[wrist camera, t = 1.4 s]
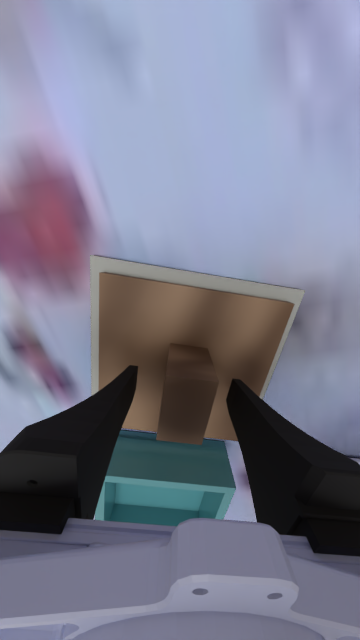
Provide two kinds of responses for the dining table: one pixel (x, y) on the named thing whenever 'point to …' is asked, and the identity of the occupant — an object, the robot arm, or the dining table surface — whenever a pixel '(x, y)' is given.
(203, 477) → the dish
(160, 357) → the lid
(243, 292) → the mat
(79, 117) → the dining table surface
